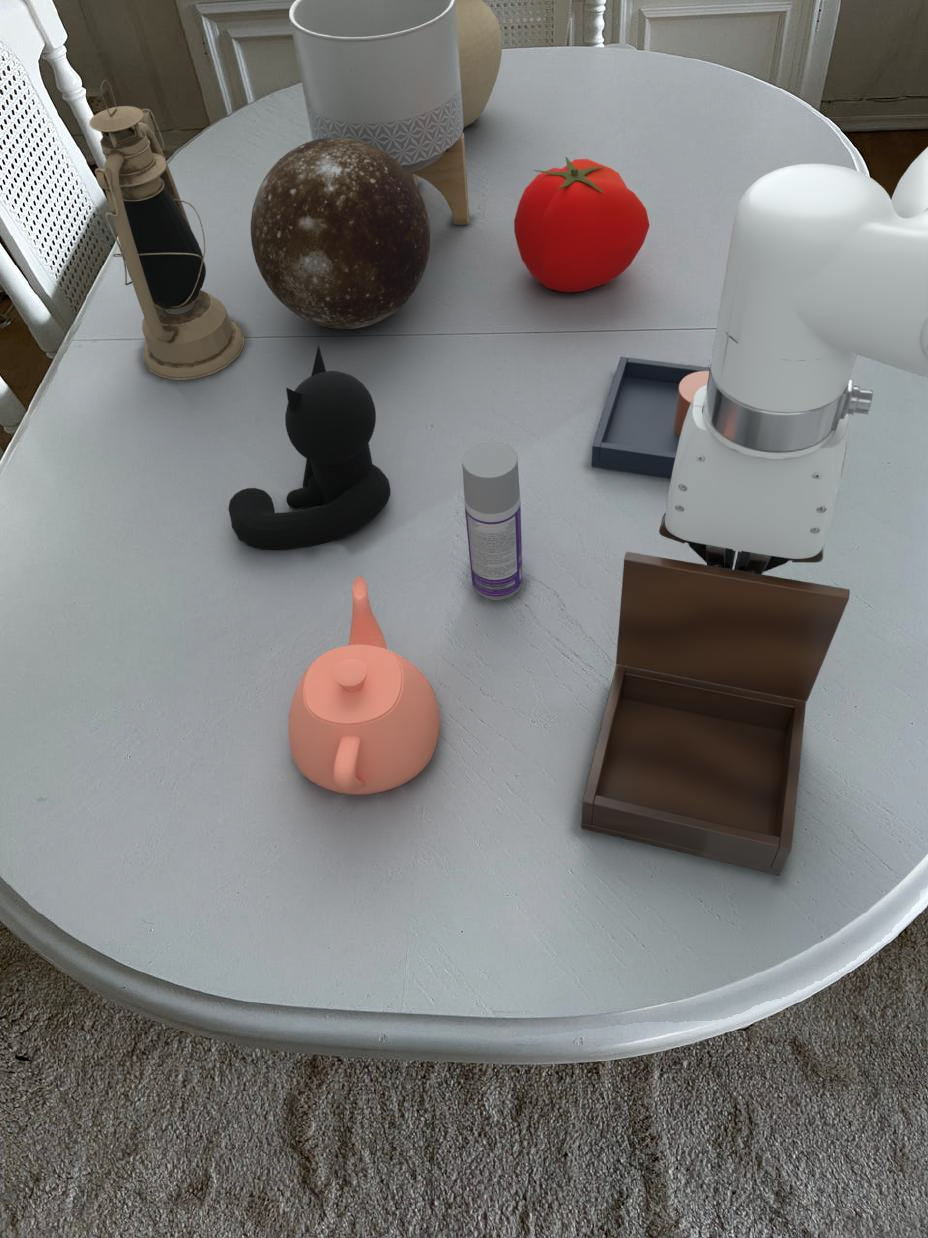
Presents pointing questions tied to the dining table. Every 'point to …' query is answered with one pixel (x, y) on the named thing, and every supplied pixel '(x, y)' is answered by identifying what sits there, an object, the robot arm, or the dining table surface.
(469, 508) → the container
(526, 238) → the tomato
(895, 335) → the robot arm
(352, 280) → the decorative sphere
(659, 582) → the lid
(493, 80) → the vase
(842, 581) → the dining table surface
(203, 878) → the dining table surface
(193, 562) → the dining table surface
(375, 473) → the figurine
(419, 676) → the teapot
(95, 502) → the dining table surface
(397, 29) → the planter
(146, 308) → the lantern
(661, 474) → the tray
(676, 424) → the orange cylinder puck
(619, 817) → the brown wooden shallow box
